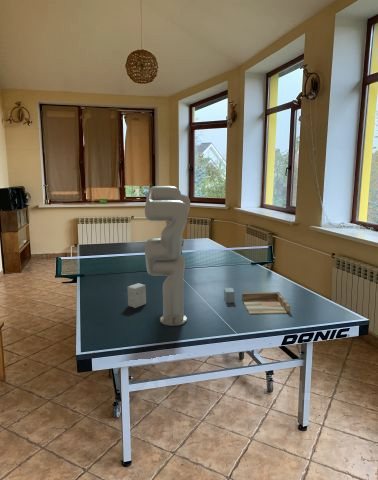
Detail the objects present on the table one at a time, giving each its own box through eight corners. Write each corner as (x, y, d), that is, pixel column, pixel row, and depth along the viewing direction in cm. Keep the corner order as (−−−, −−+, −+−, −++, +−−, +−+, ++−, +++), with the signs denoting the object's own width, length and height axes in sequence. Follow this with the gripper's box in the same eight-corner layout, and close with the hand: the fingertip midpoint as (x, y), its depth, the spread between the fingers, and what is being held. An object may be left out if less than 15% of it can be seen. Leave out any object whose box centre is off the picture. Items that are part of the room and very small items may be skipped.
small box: (139, 301, 201) (138, 282, 199) (146, 303, 198) (145, 284, 196) (127, 305, 195) (127, 286, 193) (135, 308, 192) (134, 288, 190)
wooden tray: (289, 313, 184) (290, 305, 183) (249, 314, 183) (249, 306, 182) (278, 299, 203) (278, 292, 203) (242, 300, 203) (242, 292, 202)
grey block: (234, 302, 199) (234, 291, 198) (225, 302, 199) (226, 292, 198) (232, 298, 206) (232, 287, 205) (224, 298, 206) (224, 287, 205)
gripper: (188, 222, 193) (189, 255, 196) (170, 219, 207) (171, 249, 210) (176, 223, 188) (177, 257, 192) (159, 220, 202) (159, 251, 206)
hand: (174, 253), depth 201 cm, fingers open, 9 cm apart
